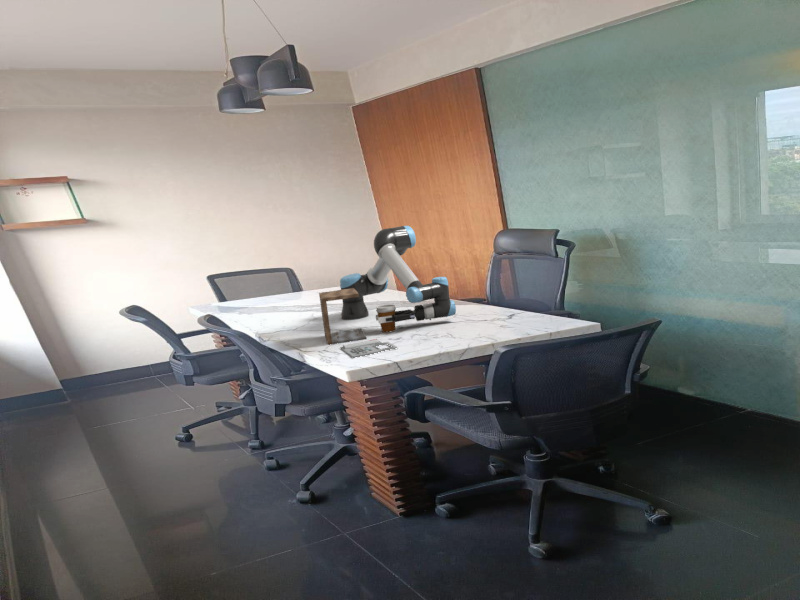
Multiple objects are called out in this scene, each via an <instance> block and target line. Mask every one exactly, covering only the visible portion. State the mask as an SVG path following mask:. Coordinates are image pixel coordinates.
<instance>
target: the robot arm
mask: <svg viewBox="0 0 800 600" xmlns="http://www.w3.org/2000/svg"><path fill="white" fill-rule="evenodd" d="M416 239H417V238H416V233H415V230H414V229H413V228H412V227H411V226H410V225H400V226H394V227H389V228H383V229H381V230H380V231H378V232H377V233H376V235H375V236H374V240H373V248H374V252H375V253H376V254H377V256H378V257H379V258H378V259H377V261H376V262H375V264H374V266H372V267H370V268H369V269H368V270H367V272H366V273H364V274H361V273H359V272H356V273H355V272H354V273H350V274H347V275H344V276H342V277H341V278H340V280H339V284H340V285H339V288H340V290H343V289H350V288H354V289H355V290H356V291H357V292H358V293H359V297H354V298H347V299H341V300H342V307H341V315H340V316H341V320H346V321H347V320H348V321H349V320H357V319H362V318H366V317H368V316H369V310H368V307H367V306H366V304H365V302H364V301H365V300H364V297H366V296H369V295H374V294H381V293H382V292H385V291H386V290H387V288H388V286H389V278H388V274H389V273H390V271H392V273H393V274H394V275H395V276H396V277H397V279H398V280H399V281H400V284H402V285H403V287H404V288H405V289H406V291H405V296H406V299H407V301H408V302H409V303H411V304H415V303H421V302H425V301H429V300H433V301H434V302H429V303H423V304H418V305H414V308H413V310H412V309H408V308H407V309H404V310H403V309H402V310H395V316H394V315H392V316H386V317H378V314H375V320H376V321H378V324H380V323H386V322H393V321H394V322H395V323H397V322H398V323H399V322H403V321H404V322H405V321H407V320H415V319H416V322H420V321H425V320H429V321H432V319H439V318H440V319H441V318H447V317H451V316H452V317H453V316H455V315H456V312H457V307H456V303H455V300H453V299H451V298H450V293H449V292H450V291H449V287H450V286H449V281H448V278H447V277H446V276H436V277H433V278H432V279H431V282H429V283H425V284H423V283H422V282H421V280H419V278H418V277H417V276H416V275H415V273H414V272H413V271H412V269H411V268H410V267H409V265H408V264H407V262H405V261H404V258H402V256H403V255H404V254H405V253H406V251H407V250H408V249H412V248H414V247H415V246H416V243H417V240H416Z"/></svg>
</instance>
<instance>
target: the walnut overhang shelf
mask: <svg viewBox="0 0 800 600" xmlns="http://www.w3.org/2000/svg"><path fill="white" fill-rule="evenodd" d="M318 295H319V301H320V309H321V315H322V322H323V330H324V331H323V332H324V337H325V341H326V343H327V346H330V344H331V345H337V343H338V344H343V343H350V341H351V342H358V341H363V340H364V341H365V340H367V338H368V337H367V335H366V334H365V333H364V331H363V330H362V328H357V329H351V330H343V331H339V332H338V331H336V332H331V326H330V325H331V324H330V319H329V313H328V312H329V311H328V310H329V309H328V304H327V303H328V302H331V301H338V300H342V299H347V298H354V297H359V293H358V292H357V291H356V290H355V289H354V288H350V289H343V290H341V289H338V290H332V291H331V290H329V291H324V292H319V293H318Z"/></svg>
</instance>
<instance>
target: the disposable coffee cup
mask: <svg viewBox="0 0 800 600" xmlns="http://www.w3.org/2000/svg"><path fill="white" fill-rule="evenodd" d="M375 311H376V314H377V315H378V317H386V316H392V315H394V316H395V311H397V310H396V306H395V304H384V305H379V306H377V307H376V309H375ZM379 325H380V329H381V332H382V333H391V332H390V331H392V332H395V331H396V322H394V321H393V322H386V323H379ZM394 330H395V331H394Z"/></svg>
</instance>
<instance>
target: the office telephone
mask: <svg viewBox="0 0 800 600" xmlns="http://www.w3.org/2000/svg"><path fill="white" fill-rule="evenodd" d="M384 344H388V345H390V346H392V347H390V346H388V345H387V346H388V347H385V348H380V346H379V345H382V346H385V345H384ZM376 346H377V347H376ZM340 348H341V349H340ZM395 348H397V349H398V347H397V345H395V344H393V343H390V342H389V341H385V342H382V341H380V340H379V339H378V338H373V339H370V340H369V339H368V340H366V341H365V340H364V341H359V342H354V343H348V344H343V345H342V346H340V347H339V349H340V350H341V351H343V352H344V351H345V352H344V353H345V354H347V353H348V354H347V355H348V356H350V357H351V358H352V357H353V358H352V359H356V358H355V357H357V358H361V357H360V356H362V357H366V356H365V355H367V356H371V355H370V354H372V355H375V354H374V353H377V354H379V353H378V352H380V353H382V352H381V351H384V352H386V351H385V350H389V351H391V350H390V349H395ZM395 350H396V349H395Z"/></svg>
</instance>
